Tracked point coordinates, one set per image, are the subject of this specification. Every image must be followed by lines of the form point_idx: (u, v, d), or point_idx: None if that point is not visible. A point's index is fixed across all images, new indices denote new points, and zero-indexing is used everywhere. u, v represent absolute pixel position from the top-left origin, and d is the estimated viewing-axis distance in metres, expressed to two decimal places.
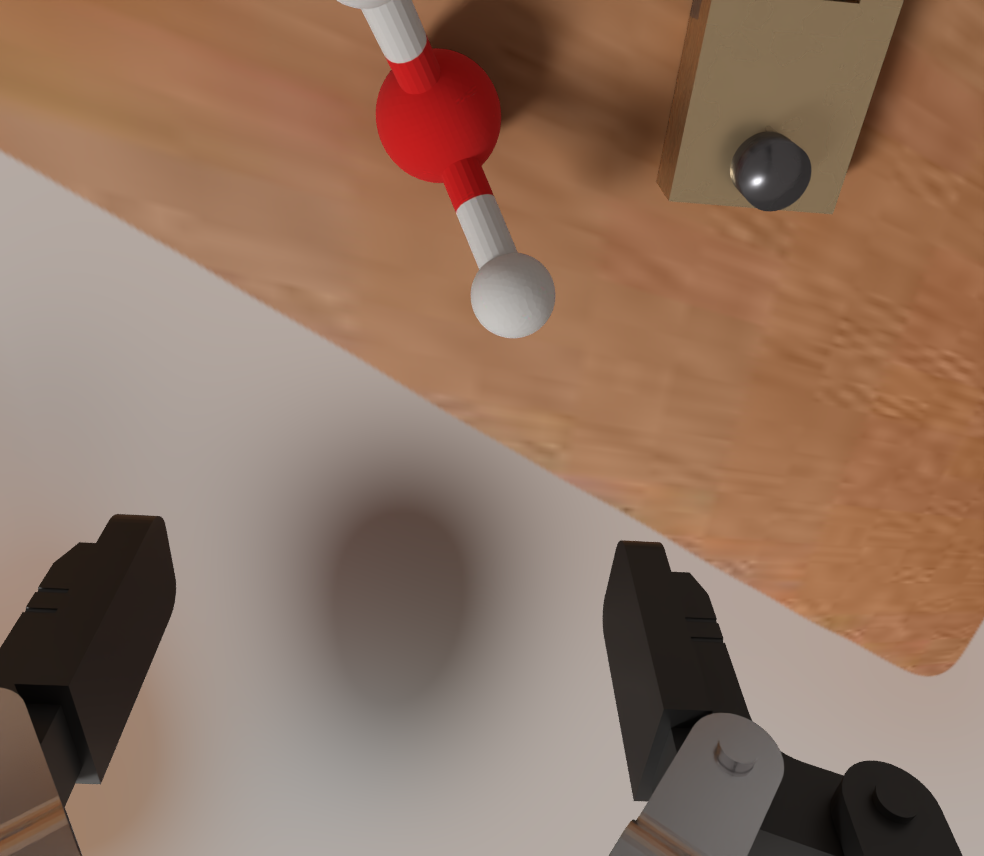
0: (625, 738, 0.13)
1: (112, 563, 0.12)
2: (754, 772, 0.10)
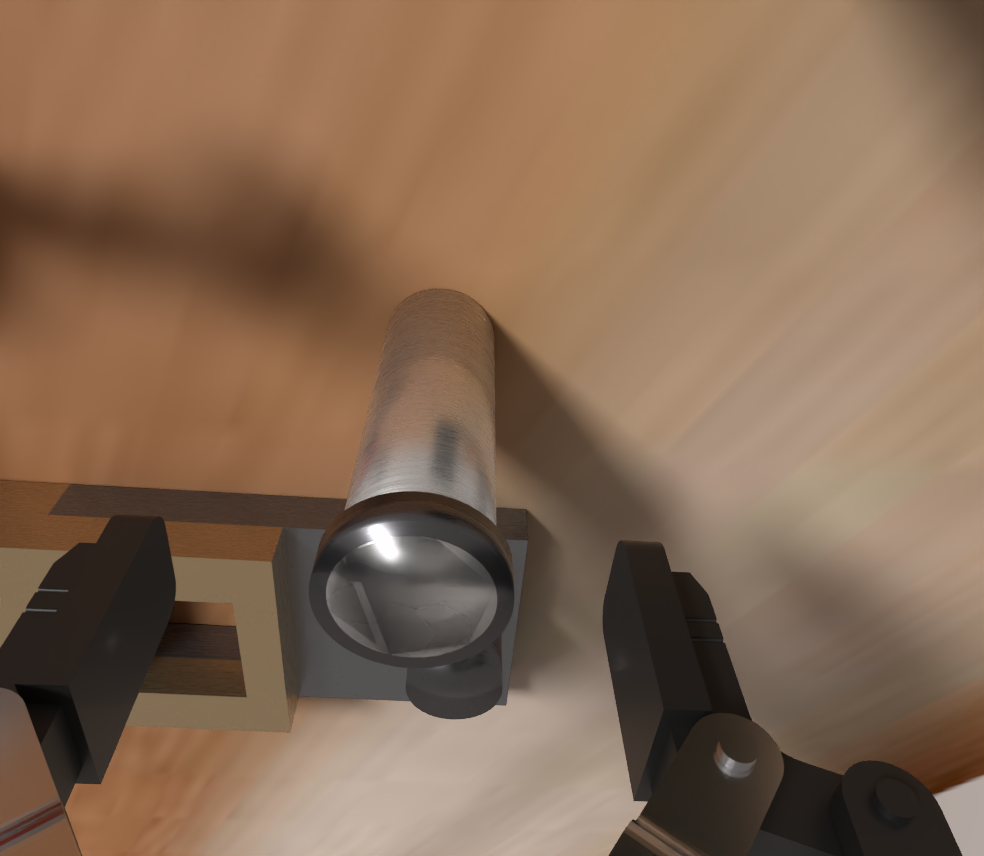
0: (625, 738, 0.13)
1: (112, 563, 0.12)
2: (754, 771, 0.10)
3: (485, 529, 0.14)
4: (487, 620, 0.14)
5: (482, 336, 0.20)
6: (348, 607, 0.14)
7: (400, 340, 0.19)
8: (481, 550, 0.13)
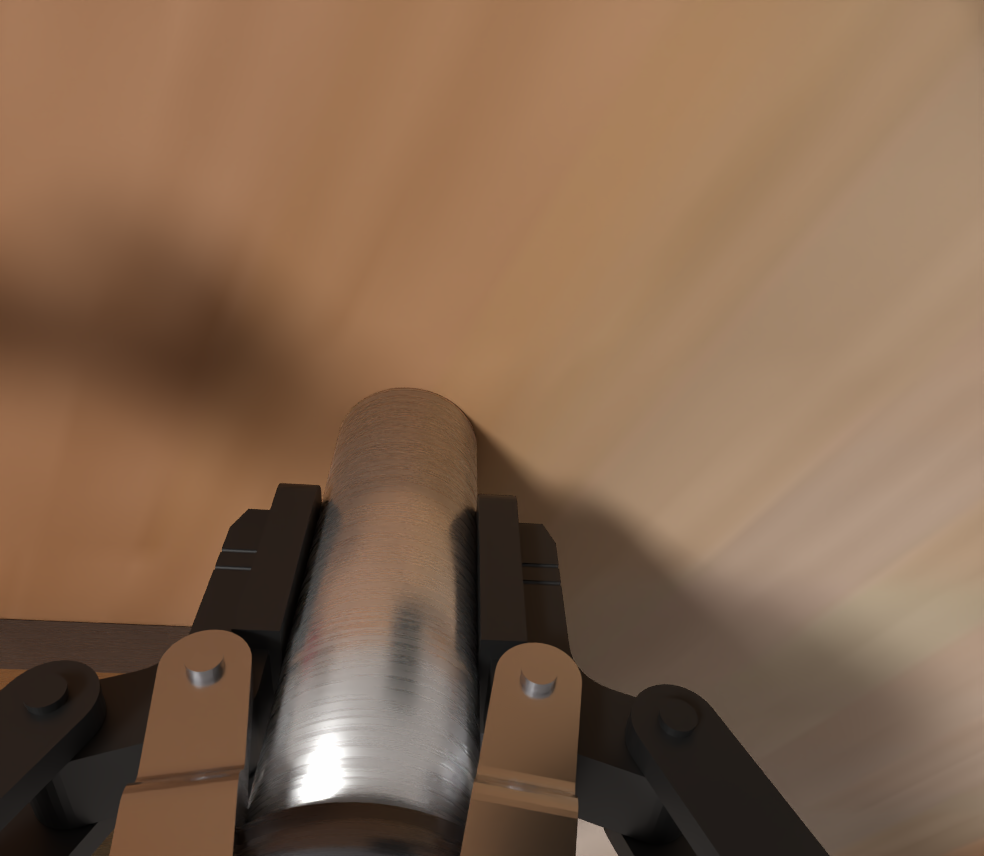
0: None
1: (290, 526, 0.13)
2: (550, 692, 0.11)
3: None
4: None
5: (460, 457, 0.15)
6: None
7: (350, 472, 0.14)
8: None
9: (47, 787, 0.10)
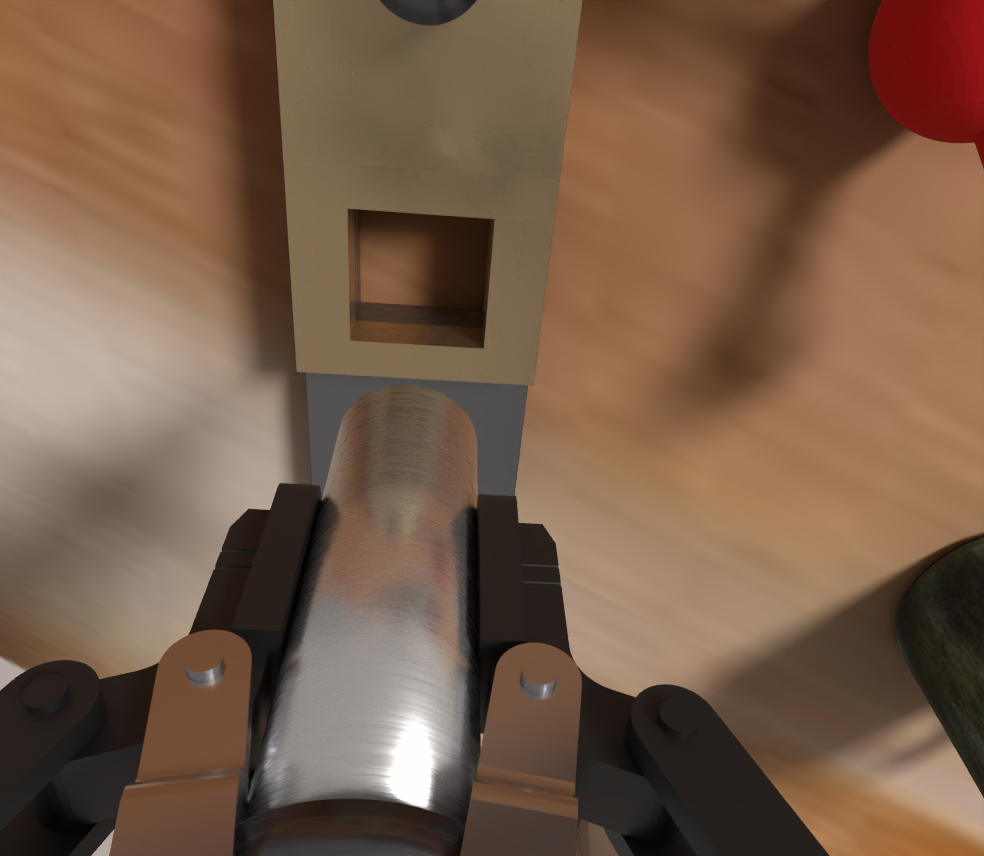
0: None
1: (290, 526, 0.13)
2: (550, 692, 0.11)
3: None
4: None
5: (460, 454, 0.15)
6: None
7: (350, 468, 0.14)
8: None
9: (47, 787, 0.10)
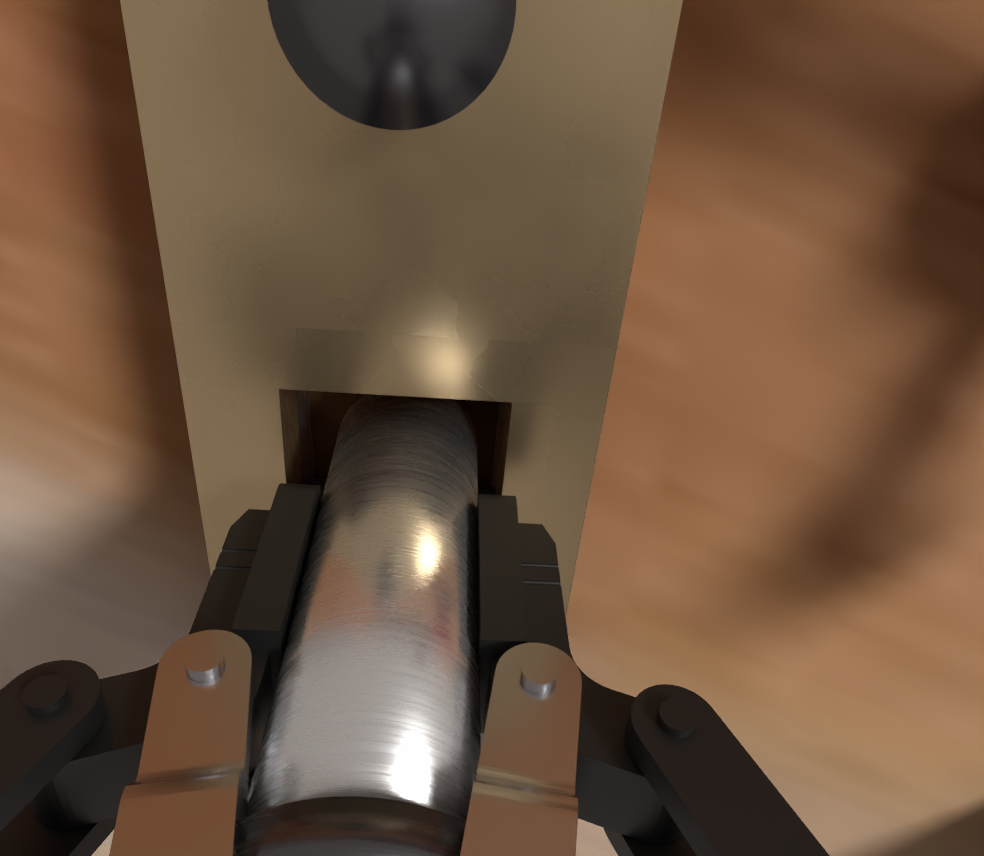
0: None
1: (290, 526, 0.13)
2: (550, 692, 0.11)
3: None
4: None
5: (461, 453, 0.15)
6: None
7: (350, 467, 0.14)
8: None
9: (47, 787, 0.10)
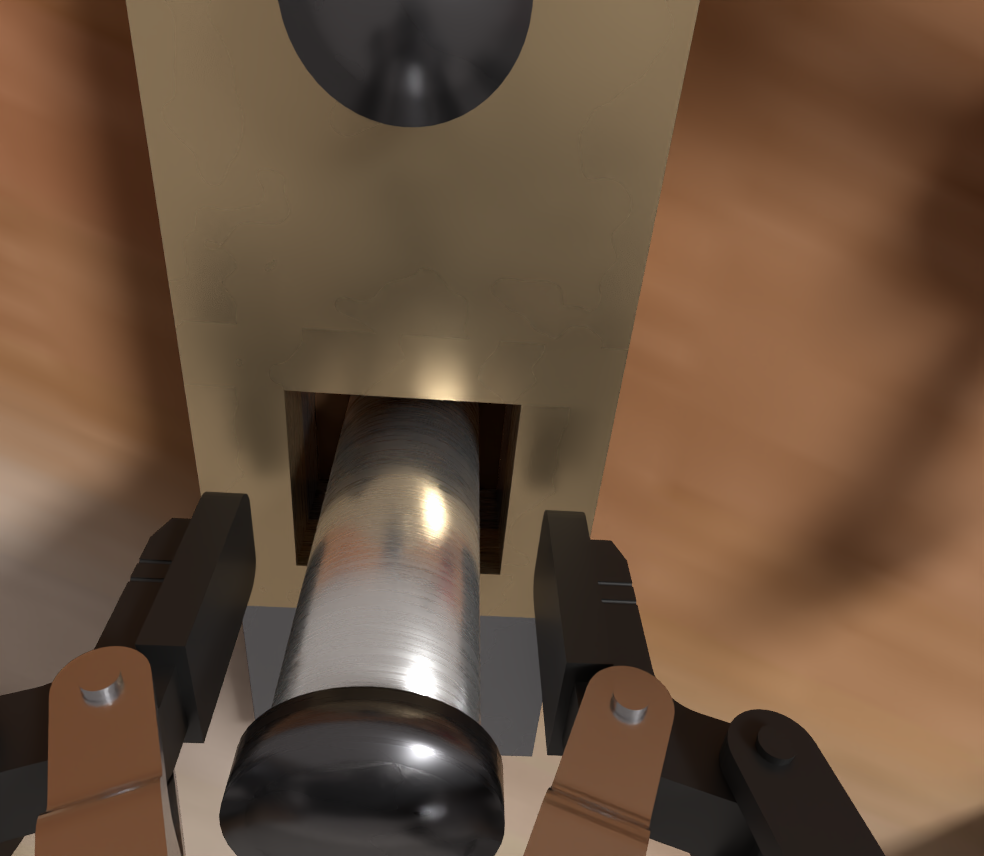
0: (543, 697, 0.13)
1: (209, 536, 0.13)
2: (644, 718, 0.10)
3: (465, 738, 0.10)
4: (467, 850, 0.10)
5: (463, 414, 0.16)
6: (277, 838, 0.10)
7: (361, 424, 0.16)
8: (458, 775, 0.09)
9: None
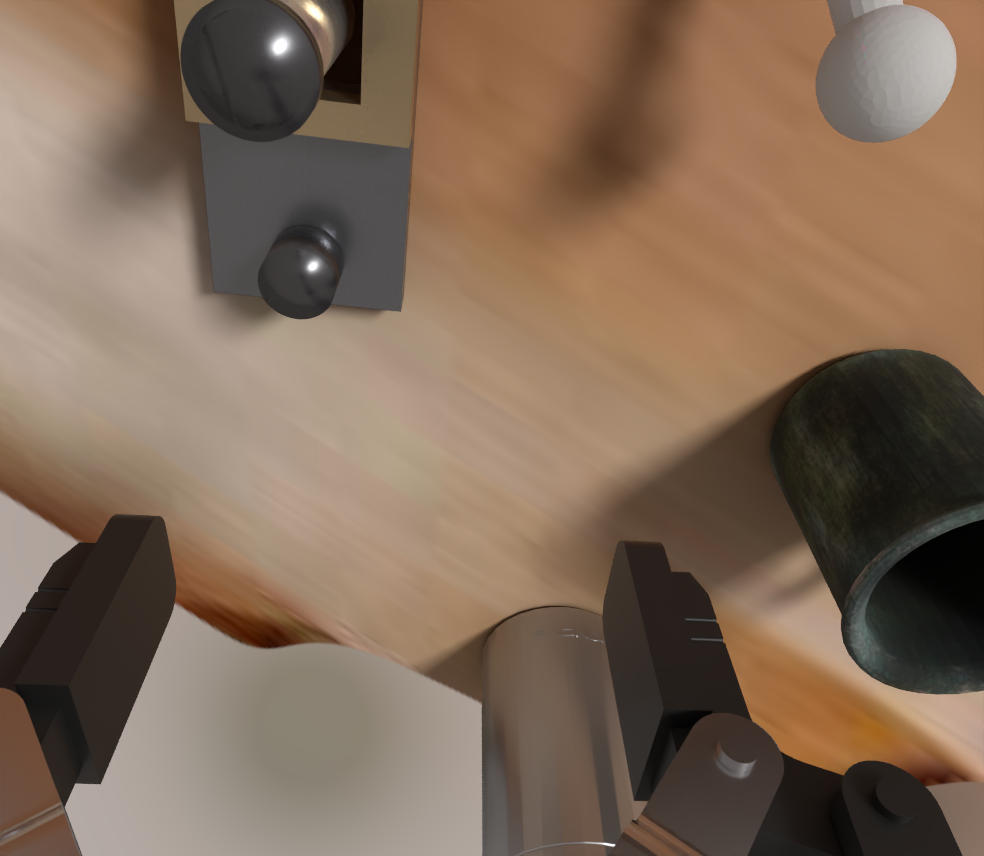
0: (625, 738, 0.13)
1: (112, 563, 0.12)
2: (754, 772, 0.10)
3: (299, 20, 0.21)
4: (302, 95, 0.21)
5: None
6: (208, 77, 0.21)
7: None
8: (292, 26, 0.20)
9: None
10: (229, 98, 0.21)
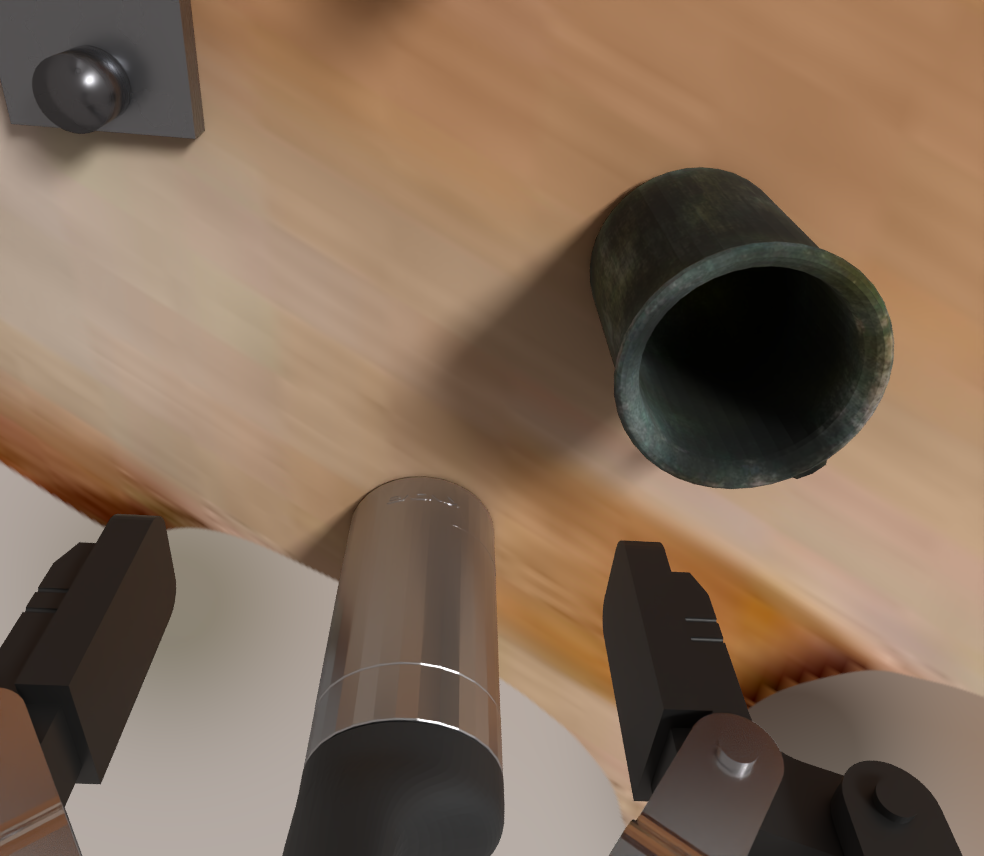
0: (625, 738, 0.13)
1: (112, 563, 0.12)
2: (754, 772, 0.10)
3: None
4: None
5: None
6: None
7: None
8: None
9: None
10: None
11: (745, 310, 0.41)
